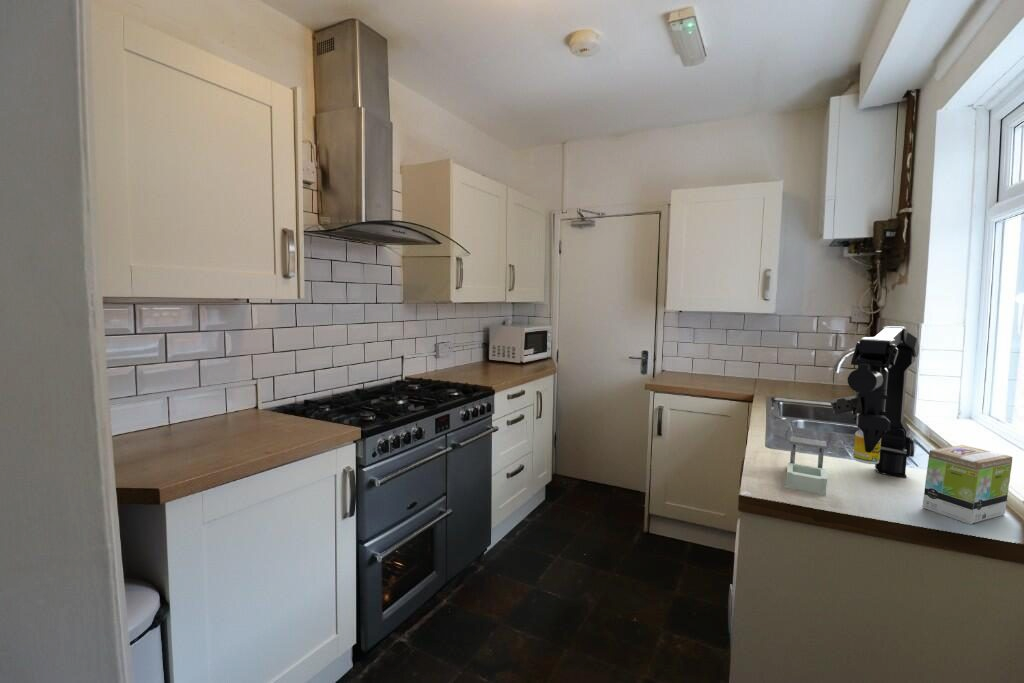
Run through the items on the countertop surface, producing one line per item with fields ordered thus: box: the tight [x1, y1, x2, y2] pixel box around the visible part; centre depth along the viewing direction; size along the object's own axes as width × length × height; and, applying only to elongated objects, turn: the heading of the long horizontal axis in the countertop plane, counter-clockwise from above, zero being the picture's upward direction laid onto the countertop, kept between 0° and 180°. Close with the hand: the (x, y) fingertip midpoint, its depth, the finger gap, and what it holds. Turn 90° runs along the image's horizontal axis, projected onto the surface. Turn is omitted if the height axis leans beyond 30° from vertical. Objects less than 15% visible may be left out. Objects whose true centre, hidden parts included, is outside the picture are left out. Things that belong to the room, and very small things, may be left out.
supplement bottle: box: [852, 428, 881, 465], centre depth 121 cm, size 5×5×10 cm
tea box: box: [922, 444, 1013, 525], centre depth 115 cm, size 15×10×15 cm
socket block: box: [785, 462, 828, 496], centre depth 134 cm, size 9×20×4 cm, turn 149°
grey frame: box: [789, 436, 828, 468], centre depth 140 cm, size 9×6×8 cm, turn 59°
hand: (866, 449), depth 121 cm, fingers closed on supplement bottle, 5 cm apart
